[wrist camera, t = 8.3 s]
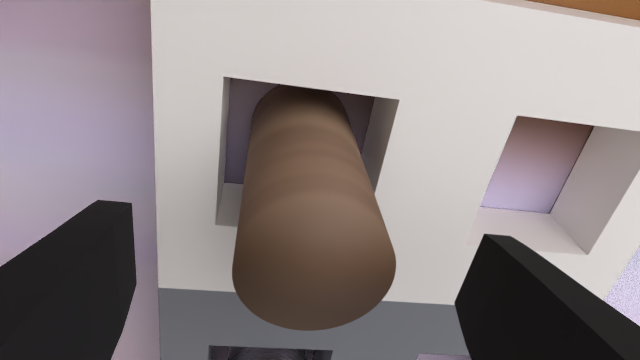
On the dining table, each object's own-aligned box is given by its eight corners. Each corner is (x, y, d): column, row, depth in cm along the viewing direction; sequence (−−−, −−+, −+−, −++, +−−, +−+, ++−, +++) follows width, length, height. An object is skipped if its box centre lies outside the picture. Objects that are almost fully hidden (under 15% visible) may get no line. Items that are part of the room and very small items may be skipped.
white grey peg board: (479, 408, 24) (499, 456, 22) (174, 401, 21) (162, 455, 19) (694, 30, 14) (770, 50, 12) (172, -62, 11) (149, -57, 9)
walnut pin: (339, 174, 16) (377, 333, 10) (248, 166, 15) (228, 328, 9) (356, 87, 14) (413, 212, 8) (254, 75, 14) (236, 199, 8)
